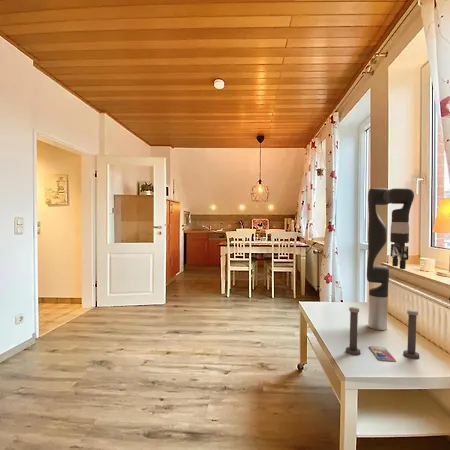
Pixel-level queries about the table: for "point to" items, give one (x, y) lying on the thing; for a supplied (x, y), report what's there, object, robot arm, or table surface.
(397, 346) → the table surface
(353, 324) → the knob
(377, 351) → the smartphone
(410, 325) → the post
